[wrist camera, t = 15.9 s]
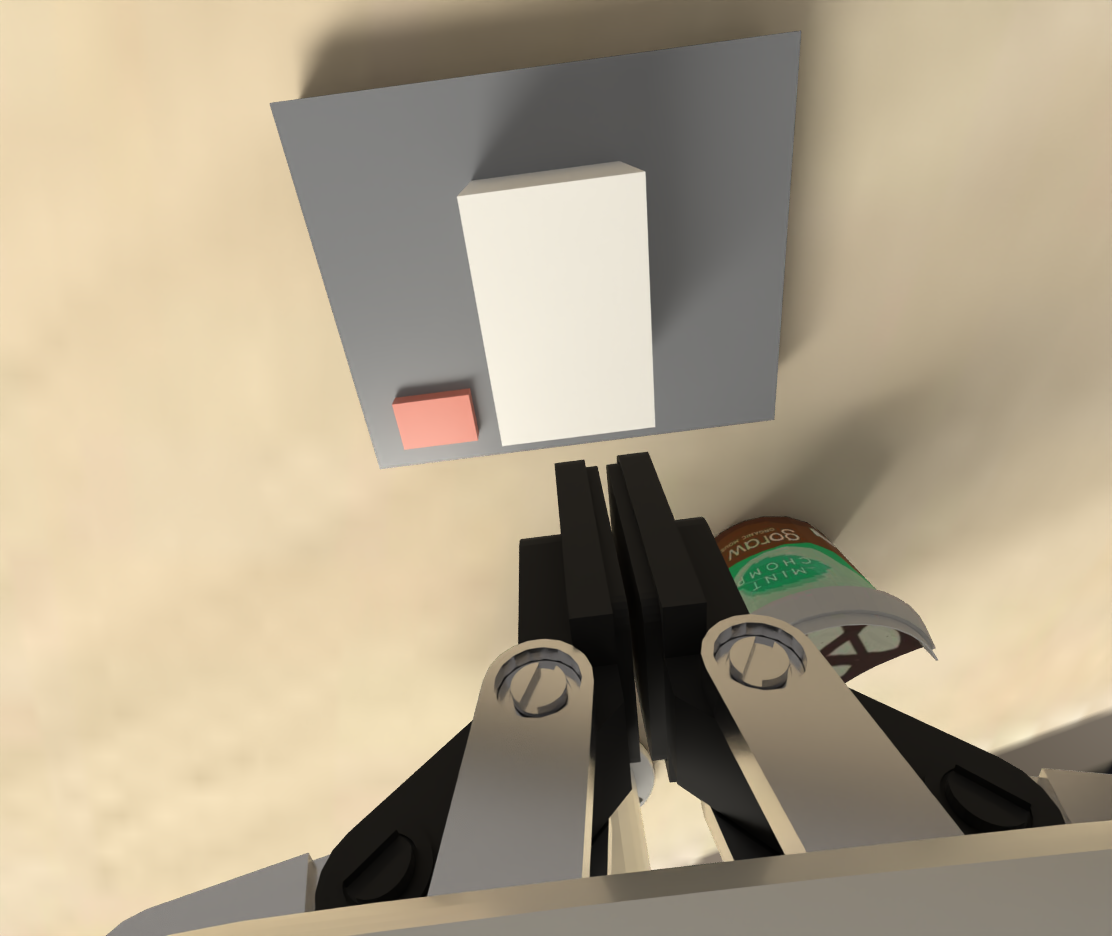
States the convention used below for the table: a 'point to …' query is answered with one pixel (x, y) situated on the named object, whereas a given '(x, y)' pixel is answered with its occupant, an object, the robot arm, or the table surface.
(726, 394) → the socket
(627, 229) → the plug
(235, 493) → the table surface
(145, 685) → the table surface
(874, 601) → the food container
